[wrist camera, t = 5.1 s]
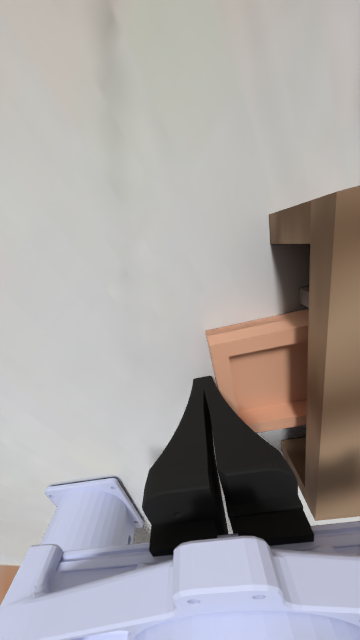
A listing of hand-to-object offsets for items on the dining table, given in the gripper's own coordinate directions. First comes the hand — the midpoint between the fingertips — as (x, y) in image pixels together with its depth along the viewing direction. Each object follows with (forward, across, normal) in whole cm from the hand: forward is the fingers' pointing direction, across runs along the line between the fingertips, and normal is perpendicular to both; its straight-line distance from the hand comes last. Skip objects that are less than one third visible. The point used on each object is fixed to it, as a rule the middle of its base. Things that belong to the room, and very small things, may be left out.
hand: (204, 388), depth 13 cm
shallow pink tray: (+1, -7, 0) cm, 7 cm away
